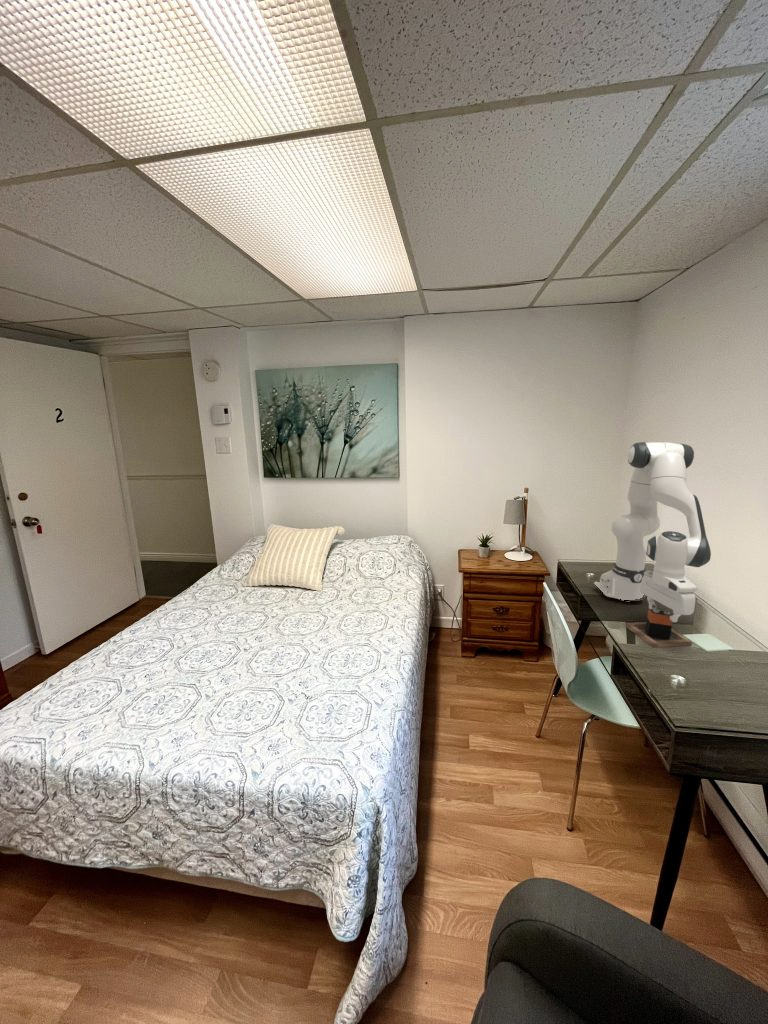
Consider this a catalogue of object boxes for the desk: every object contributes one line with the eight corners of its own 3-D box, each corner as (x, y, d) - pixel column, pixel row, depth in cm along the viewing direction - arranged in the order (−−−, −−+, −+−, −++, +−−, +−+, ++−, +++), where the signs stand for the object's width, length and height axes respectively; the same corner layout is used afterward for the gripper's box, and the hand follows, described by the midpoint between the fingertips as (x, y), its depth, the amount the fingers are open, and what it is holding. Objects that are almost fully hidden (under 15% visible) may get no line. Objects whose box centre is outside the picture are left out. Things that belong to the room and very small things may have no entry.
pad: (682, 636, 142) (682, 634, 142) (707, 634, 143) (708, 633, 143) (706, 651, 132) (707, 650, 132) (734, 650, 133) (734, 649, 133)
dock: (625, 626, 148) (626, 623, 148) (660, 625, 149) (660, 621, 149) (653, 647, 135) (654, 643, 134) (691, 645, 136) (692, 641, 136)
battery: (644, 631, 145) (648, 606, 143) (666, 634, 143) (670, 609, 141) (647, 637, 141) (652, 611, 139) (670, 640, 139) (674, 614, 137)
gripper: (637, 568, 147) (633, 603, 149) (683, 590, 127) (677, 629, 130) (653, 567, 147) (648, 602, 150) (701, 589, 127) (695, 628, 130)
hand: (662, 615), depth 140 cm, fingers open, 8 cm apart
